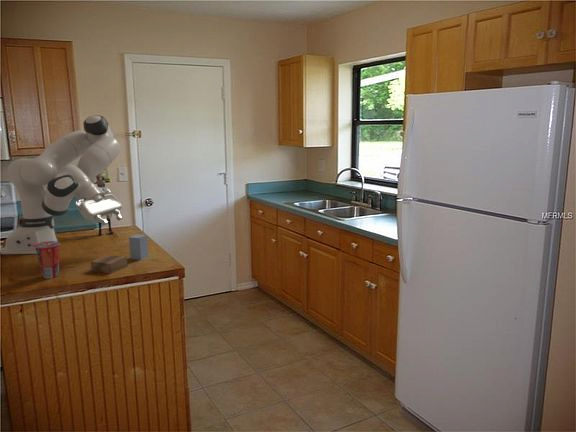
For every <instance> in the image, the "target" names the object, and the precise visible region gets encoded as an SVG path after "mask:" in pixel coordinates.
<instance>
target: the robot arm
mask: <svg viewBox="0 0 576 432" xmlns="http://www.w3.org/2000/svg"><path fill="white" fill-rule="evenodd" d="M82 124H83V130H84V131H83V130H75V131H72V132H69V133H67V134H65V135H63V136H62V137H59V138H58V139H56V140H55V141H54V142H52V143H50V144H49V145H47V146H45V148H44V151H43V152H41V154H39V155H38V156H36V157H34V158H26V157H22V158H17V159H15V160H13V161H11V162H10V163H9V164H8V166H7V174H8V176H9V178H10V179H11V180H12V181H13V183H14V185H15V189H16V191H17V193H18V196H19V199H20V205H21V212H22V216H21V217H20V218H19V219H18V221H17V225H18V227H16V229H14V230H13V231H12V232H11V233H10V234H9V235H8V236H7V237H6V241H5V246H3V247H2V248H0V254H1V255H31V254H33V255H35V254H36V255H37V252H36V249H35V247H31V246H30V245H33V244H37V243H41V242H47V241H58V238H57V236H56V232H55V219H54V217H60V216H64V215H65V214H67V212H68V211H69V208H70V205H71V202H72V201H73V200H74V199H75V198H76V199H77V200H75V203H74V204H75V206H76V208H77V210H78V212H79V213H80V215H81V216H82V217H83V219H85V220H86V221H92V220H95V221H96V222H100V223H101V226H103V227H104V226H107V225H108V221H107V220H106V219H107V218H101V217H105V216H106V215H109V216H110V214H112V215H114V216H115V219H116V220H117V221H122V220H123V219H124V217H123V216H122V215H121V212H120V211H121V209H122V208H123V203H122V202H120V200H119V199H118V198H117V197H116V196H115V195H114V194H112V191H111V190H110V189H109V188H106V187H104V188H100V187H98V186H97V184H95V183H93V182H92V181H93V180H94V179H95V178H96V177H97V175H98V174H101V173H102V172H103V171H105V169H106V168H108V167H109V166H110V165H111V164H112V163H113V162H114V161H115V160H116V159H117V157H118V155H119V154H120V152H121V145H120V143H119V141H118V140H117V139H115V136H114V134H113V132H112V130H111V128H110V125H109V123H108V121H107V119H106V118H105V117H104V116H102V115H99V114H95V115H91V116H88V117H87V118H86V119H84V121H83V123H82ZM79 157H80V158H79ZM78 158H79V160H78V162H77V164H76V165H77V166H76V165H74V164H71V163H72V162H73V161H75V160H77V159H78ZM44 186H46V187H44Z"/></svg>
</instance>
